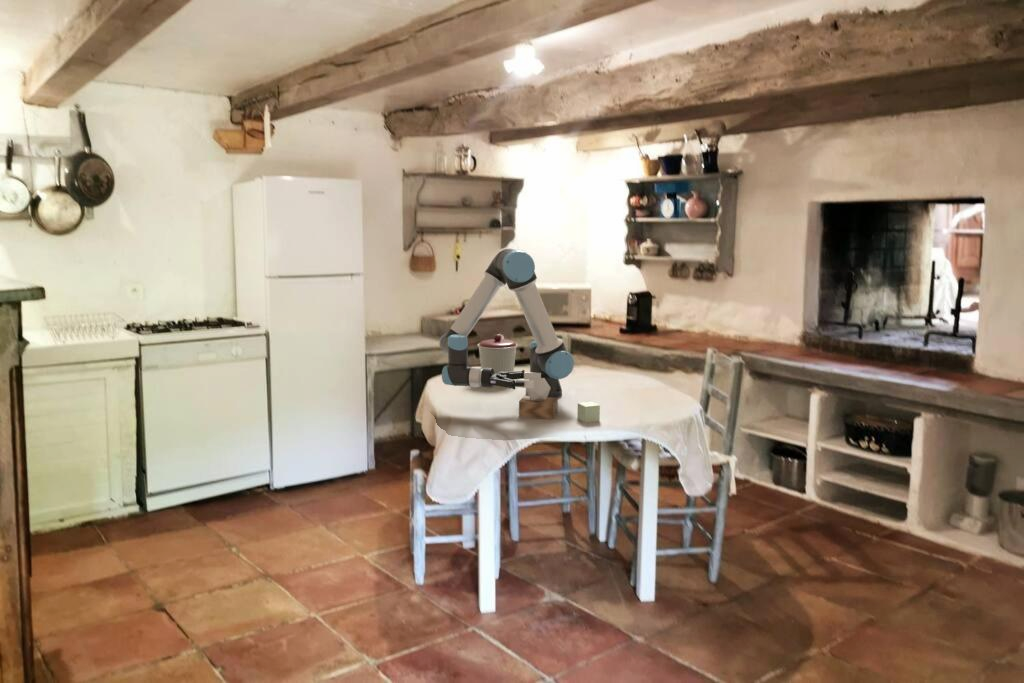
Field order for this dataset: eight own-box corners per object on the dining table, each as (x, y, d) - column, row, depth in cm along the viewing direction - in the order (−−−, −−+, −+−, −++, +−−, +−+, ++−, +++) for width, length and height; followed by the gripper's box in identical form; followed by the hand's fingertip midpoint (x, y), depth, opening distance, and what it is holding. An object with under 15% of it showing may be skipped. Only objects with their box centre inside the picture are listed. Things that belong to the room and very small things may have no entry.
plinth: (519, 416, 297) (519, 401, 296) (524, 410, 306) (524, 395, 305) (553, 419, 294) (553, 403, 293) (557, 413, 303) (557, 397, 301)
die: (548, 398, 303) (533, 376, 304) (558, 391, 296) (543, 369, 296) (532, 409, 299) (517, 387, 300) (542, 402, 291) (527, 380, 292)
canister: (514, 385, 347) (514, 338, 344) (473, 384, 350) (473, 337, 346) (520, 376, 365) (520, 331, 361) (481, 375, 368) (481, 330, 364)
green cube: (591, 417, 298) (591, 401, 297) (599, 421, 292) (599, 405, 291) (577, 418, 295) (577, 402, 294) (585, 422, 290) (585, 406, 289)
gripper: (490, 379, 315) (543, 383, 310) (473, 394, 291) (530, 398, 286) (490, 361, 313) (543, 364, 309) (473, 374, 289) (530, 377, 285)
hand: (537, 380), depth 297 cm, fingers open, 13 cm apart
